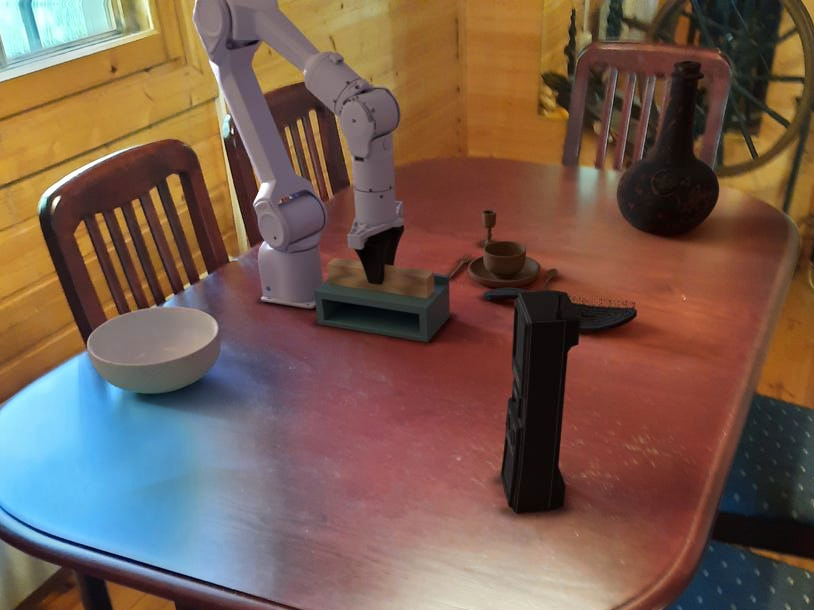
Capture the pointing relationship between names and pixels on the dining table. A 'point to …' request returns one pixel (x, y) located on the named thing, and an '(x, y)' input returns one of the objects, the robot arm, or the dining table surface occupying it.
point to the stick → (394, 280)
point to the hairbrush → (580, 311)
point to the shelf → (384, 310)
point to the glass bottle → (671, 168)
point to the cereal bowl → (155, 349)
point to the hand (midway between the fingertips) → (380, 279)
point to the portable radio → (537, 400)
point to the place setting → (503, 262)
